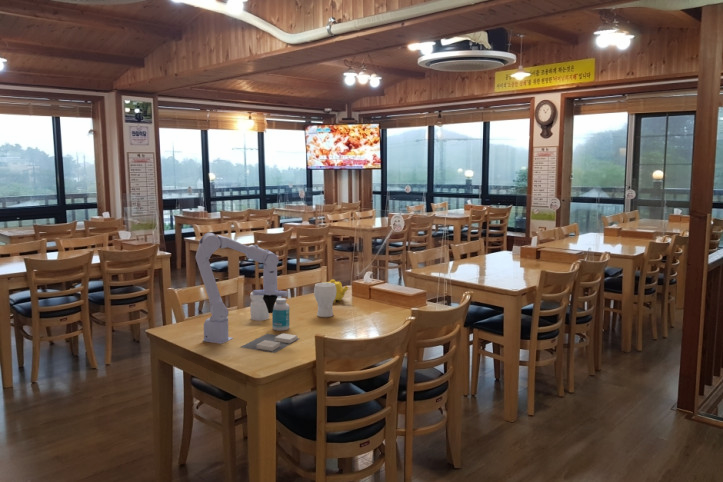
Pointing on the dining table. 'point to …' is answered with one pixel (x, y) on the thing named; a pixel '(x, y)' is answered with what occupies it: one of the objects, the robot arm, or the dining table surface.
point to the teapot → (339, 290)
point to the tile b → (286, 338)
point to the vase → (258, 308)
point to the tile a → (268, 345)
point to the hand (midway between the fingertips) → (270, 312)
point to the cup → (325, 298)
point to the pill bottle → (280, 315)
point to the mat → (269, 338)
